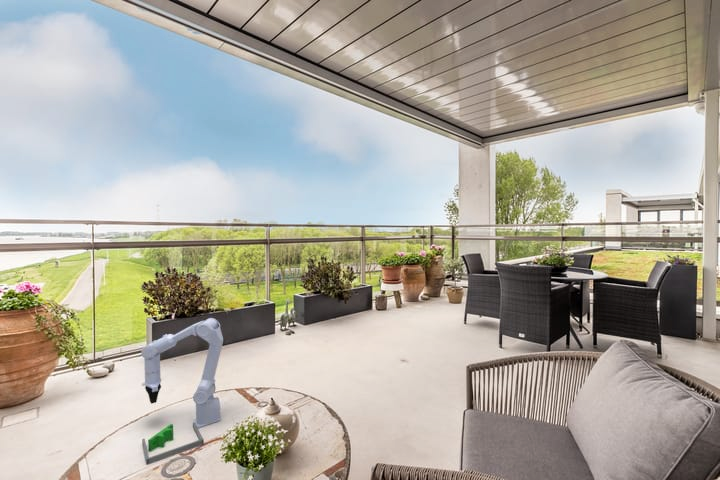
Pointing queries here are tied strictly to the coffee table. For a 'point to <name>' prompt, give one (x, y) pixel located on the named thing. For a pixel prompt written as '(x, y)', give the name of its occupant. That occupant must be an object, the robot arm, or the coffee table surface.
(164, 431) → the green stepped block
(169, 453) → the grey u-shaped frame
